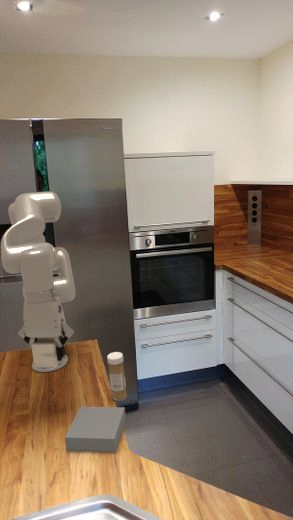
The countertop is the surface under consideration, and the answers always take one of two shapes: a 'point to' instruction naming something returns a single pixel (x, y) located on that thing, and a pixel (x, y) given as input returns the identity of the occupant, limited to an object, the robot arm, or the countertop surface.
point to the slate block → (96, 429)
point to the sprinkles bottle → (117, 376)
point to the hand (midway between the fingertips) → (49, 358)
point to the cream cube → (45, 353)
